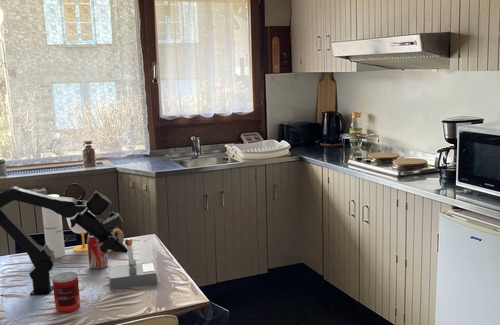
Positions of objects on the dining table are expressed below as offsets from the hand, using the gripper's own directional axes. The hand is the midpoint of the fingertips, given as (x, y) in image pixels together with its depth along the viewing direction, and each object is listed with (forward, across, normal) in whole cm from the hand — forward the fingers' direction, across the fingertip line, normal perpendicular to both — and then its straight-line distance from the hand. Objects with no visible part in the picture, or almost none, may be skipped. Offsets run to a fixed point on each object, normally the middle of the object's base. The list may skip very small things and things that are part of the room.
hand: (127, 251), depth 200 cm
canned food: (-6, -17, +22) cm, 28 cm away
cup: (-5, +44, +21) cm, 48 cm away
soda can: (0, +19, +16) cm, 25 cm away
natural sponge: (+4, +36, +12) cm, 38 cm away
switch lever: (+5, 0, +3) cm, 6 cm away
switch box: (+9, 0, +7) cm, 11 cm away
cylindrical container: (-12, +38, +28) cm, 49 cm away
